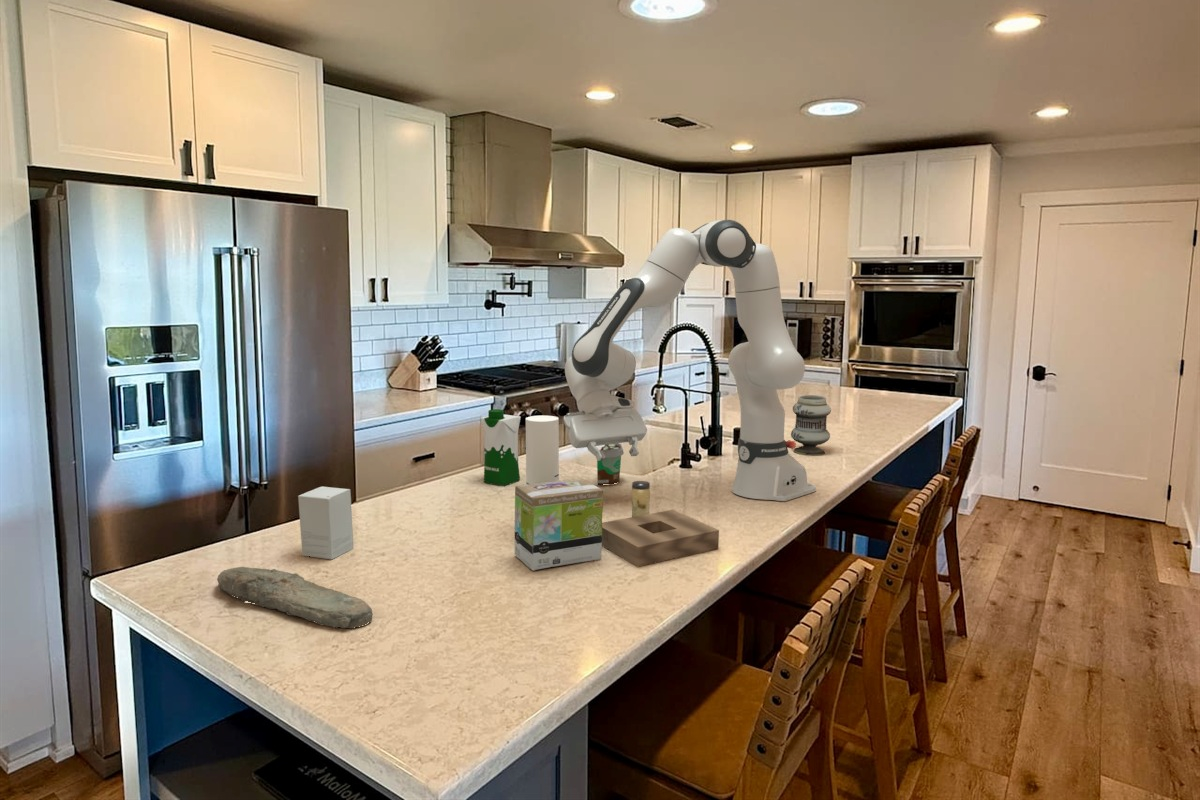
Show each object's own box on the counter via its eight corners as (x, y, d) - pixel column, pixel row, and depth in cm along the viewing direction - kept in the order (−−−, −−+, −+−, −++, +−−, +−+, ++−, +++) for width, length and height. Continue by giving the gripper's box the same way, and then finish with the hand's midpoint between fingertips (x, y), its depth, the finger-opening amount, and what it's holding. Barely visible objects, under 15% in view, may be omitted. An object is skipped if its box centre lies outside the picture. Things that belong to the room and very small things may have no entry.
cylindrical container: (564, 526, 170) (564, 417, 166) (549, 536, 163) (548, 422, 159) (536, 522, 173) (535, 414, 169) (520, 531, 166) (519, 419, 162)
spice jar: (642, 517, 177) (643, 479, 175) (652, 522, 173) (653, 484, 172) (628, 520, 175) (628, 482, 173) (638, 524, 171) (638, 486, 170)
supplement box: (355, 548, 156) (352, 488, 154) (331, 560, 149) (327, 498, 147) (325, 543, 158) (322, 485, 156) (300, 556, 151) (296, 494, 149)
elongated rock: (341, 648, 117) (387, 626, 126) (342, 616, 116) (389, 596, 125) (198, 591, 133) (248, 575, 142) (198, 562, 133) (249, 548, 141)
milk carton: (478, 482, 205) (477, 410, 202) (500, 475, 213) (499, 405, 210) (504, 487, 201) (502, 413, 198) (525, 480, 208) (524, 408, 205)
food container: (619, 488, 201) (619, 451, 199) (596, 487, 202) (596, 450, 200) (626, 476, 213) (627, 441, 211) (605, 475, 214) (605, 440, 212)
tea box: (533, 573, 143) (532, 497, 141) (513, 556, 152) (512, 484, 150) (603, 560, 150) (603, 487, 148) (581, 544, 159) (581, 475, 157)
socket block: (672, 526, 170) (672, 509, 170) (718, 548, 157) (719, 530, 156) (595, 542, 160) (595, 523, 159) (637, 566, 147) (637, 547, 146)
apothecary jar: (791, 455, 239) (794, 399, 236) (788, 447, 251) (791, 393, 248) (831, 457, 237) (834, 400, 234) (826, 448, 249) (829, 394, 246)
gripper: (565, 406, 179) (585, 454, 173) (637, 399, 190) (659, 445, 183) (556, 421, 184) (575, 469, 177) (627, 414, 194) (648, 459, 187)
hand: (618, 457), depth 180 cm, fingers open, 8 cm apart
